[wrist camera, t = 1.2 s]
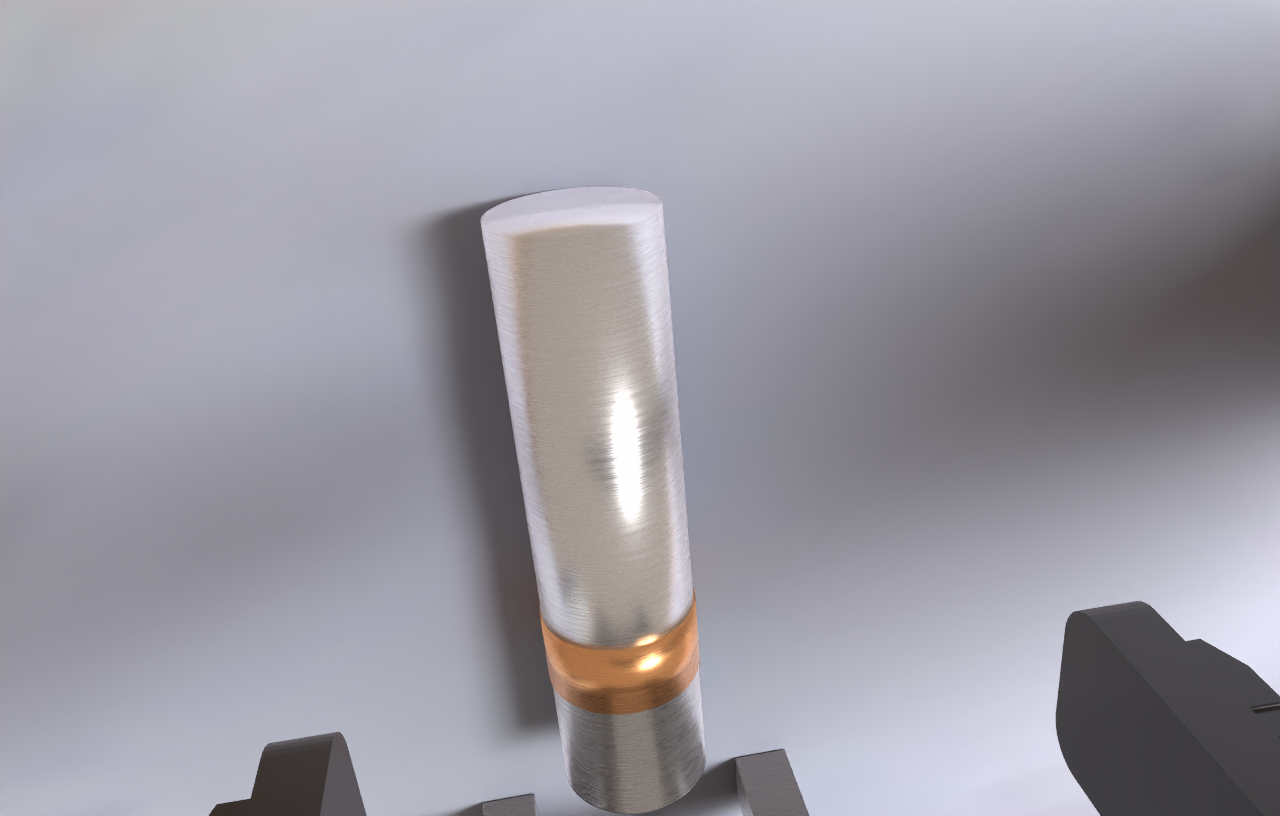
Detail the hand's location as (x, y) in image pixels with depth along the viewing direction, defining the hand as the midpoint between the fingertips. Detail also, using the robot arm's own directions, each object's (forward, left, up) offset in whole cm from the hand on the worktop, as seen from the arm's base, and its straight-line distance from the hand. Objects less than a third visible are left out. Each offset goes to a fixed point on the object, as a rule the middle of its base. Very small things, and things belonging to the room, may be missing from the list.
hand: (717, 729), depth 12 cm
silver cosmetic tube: (0, +6, -16) cm, 17 cm away
